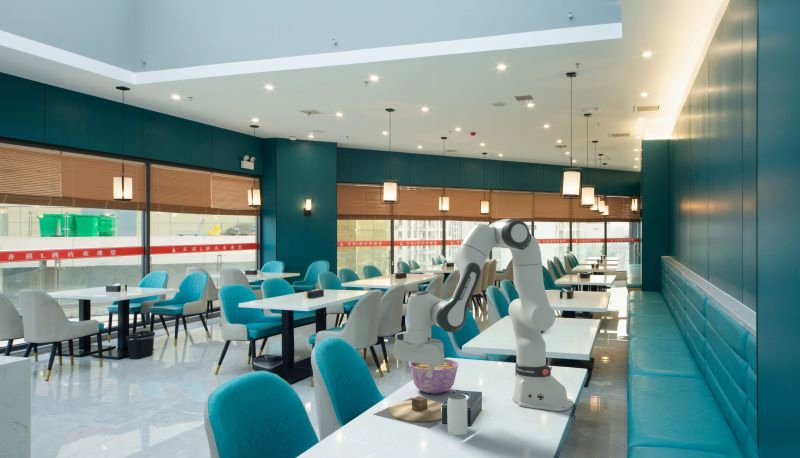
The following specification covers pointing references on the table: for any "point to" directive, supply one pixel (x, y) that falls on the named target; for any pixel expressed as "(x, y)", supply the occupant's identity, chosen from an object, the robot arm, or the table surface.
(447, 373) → the bowl of food
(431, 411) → the oak bowl cover
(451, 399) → the can
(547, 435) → the table surface
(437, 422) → the rubber mat
